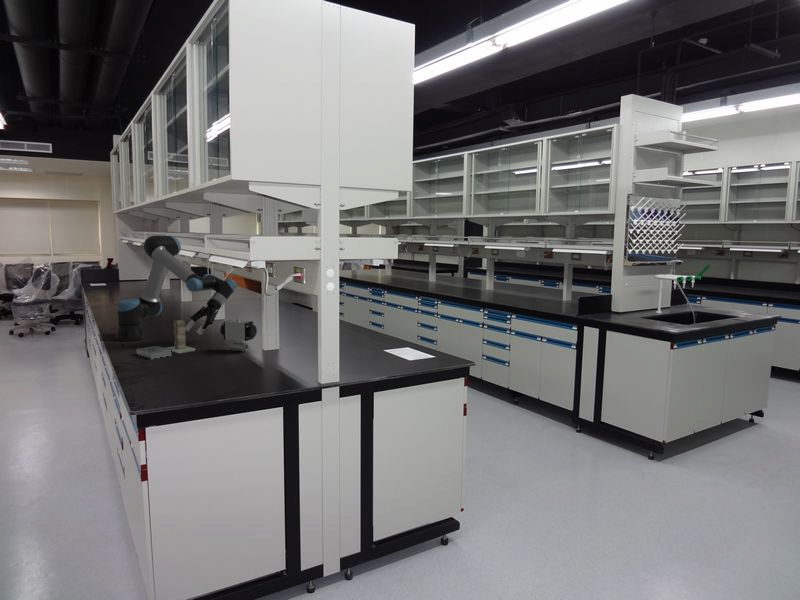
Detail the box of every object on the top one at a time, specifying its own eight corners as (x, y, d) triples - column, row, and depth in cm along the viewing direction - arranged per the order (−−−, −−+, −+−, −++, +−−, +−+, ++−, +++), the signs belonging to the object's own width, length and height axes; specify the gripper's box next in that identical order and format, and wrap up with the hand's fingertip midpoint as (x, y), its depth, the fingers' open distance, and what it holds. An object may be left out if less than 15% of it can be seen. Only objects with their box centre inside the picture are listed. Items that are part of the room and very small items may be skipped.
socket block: (136, 354, 265) (136, 348, 265) (156, 351, 273) (156, 345, 273) (151, 359, 255) (150, 353, 255) (171, 356, 263) (171, 350, 263)
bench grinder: (258, 350, 280) (258, 318, 278) (250, 353, 272) (249, 320, 270) (229, 348, 284) (228, 316, 282) (220, 351, 276) (219, 318, 274)
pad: (164, 349, 278) (164, 347, 278) (182, 346, 285) (182, 345, 285) (177, 353, 269) (177, 351, 269) (195, 350, 276) (195, 348, 276)
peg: (174, 348, 277) (173, 320, 275) (181, 347, 280) (181, 320, 278) (178, 349, 274) (177, 321, 272) (185, 348, 277) (184, 320, 276)
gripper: (232, 308, 285) (208, 338, 275) (209, 304, 301) (185, 332, 291) (223, 299, 280) (199, 330, 271) (200, 296, 296) (176, 324, 287)
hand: (192, 331), depth 281 cm, fingers open, 13 cm apart
